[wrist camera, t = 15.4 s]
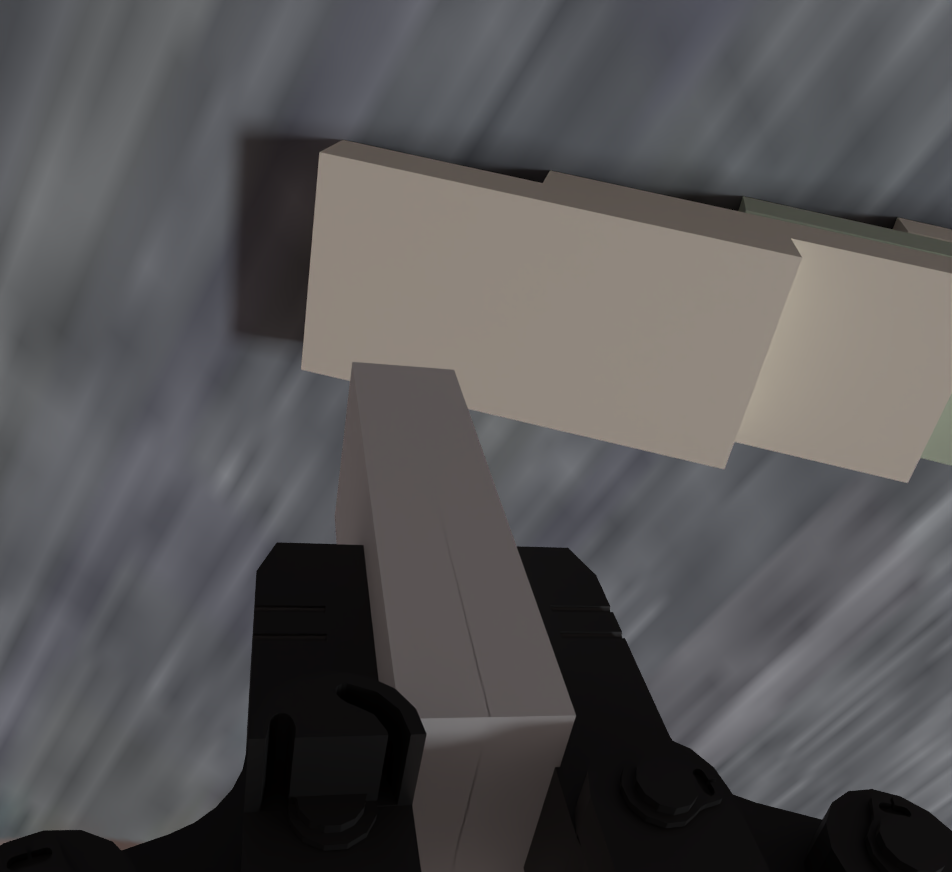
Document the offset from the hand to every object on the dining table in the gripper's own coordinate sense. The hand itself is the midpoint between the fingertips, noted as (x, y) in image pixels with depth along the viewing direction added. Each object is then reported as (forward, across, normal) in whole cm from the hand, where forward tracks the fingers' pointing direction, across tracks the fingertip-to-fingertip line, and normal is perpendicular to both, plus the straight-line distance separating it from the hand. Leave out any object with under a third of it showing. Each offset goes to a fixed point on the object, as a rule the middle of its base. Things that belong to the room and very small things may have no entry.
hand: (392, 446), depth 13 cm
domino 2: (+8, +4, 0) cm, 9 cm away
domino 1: (+8, -1, 0) cm, 8 cm away
